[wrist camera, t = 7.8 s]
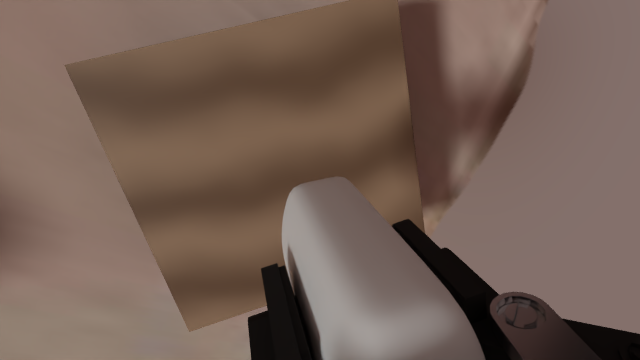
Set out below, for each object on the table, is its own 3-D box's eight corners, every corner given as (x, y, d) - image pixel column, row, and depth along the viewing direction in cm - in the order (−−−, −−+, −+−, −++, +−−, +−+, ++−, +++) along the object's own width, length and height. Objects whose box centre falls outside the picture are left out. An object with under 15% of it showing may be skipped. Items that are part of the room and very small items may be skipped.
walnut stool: (105, 59, 25) (64, 65, 18) (356, 2, 27) (396, -11, 21) (196, 273, 32) (189, 331, 25) (389, 212, 34) (426, 250, 28)
